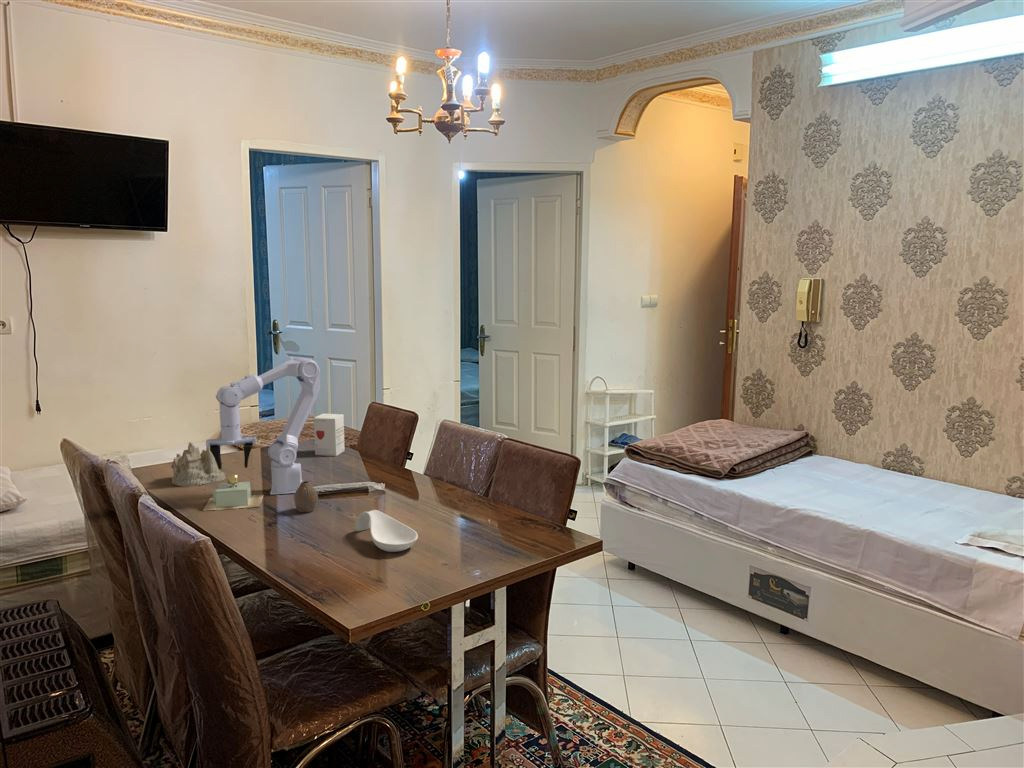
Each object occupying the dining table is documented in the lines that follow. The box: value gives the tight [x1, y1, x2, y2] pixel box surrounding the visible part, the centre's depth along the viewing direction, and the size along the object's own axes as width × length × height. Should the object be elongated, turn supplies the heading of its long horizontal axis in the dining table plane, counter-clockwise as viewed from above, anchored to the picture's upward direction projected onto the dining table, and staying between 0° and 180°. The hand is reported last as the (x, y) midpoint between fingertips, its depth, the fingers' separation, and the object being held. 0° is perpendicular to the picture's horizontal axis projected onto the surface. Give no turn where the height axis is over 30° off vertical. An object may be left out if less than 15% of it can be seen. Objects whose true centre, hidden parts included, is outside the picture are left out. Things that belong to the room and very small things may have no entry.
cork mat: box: [203, 494, 264, 512], centre depth 230 cm, size 16×12×1 cm
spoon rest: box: [354, 509, 419, 553], centre depth 197 cm, size 24×12×7 cm, turn 41°
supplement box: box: [313, 413, 345, 457], centre depth 291 cm, size 9×9×15 cm
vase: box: [293, 480, 319, 513], centre depth 222 cm, size 7×7×9 cm
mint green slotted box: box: [212, 480, 252, 508], centre depth 229 cm, size 10×9×5 cm
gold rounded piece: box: [226, 473, 240, 487], centre depth 229 cm, size 7×7×8 cm
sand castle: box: [170, 441, 227, 488], centre depth 254 cm, size 16×16×15 cm
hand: (233, 467), depth 232 cm, fingers open, 7 cm apart
